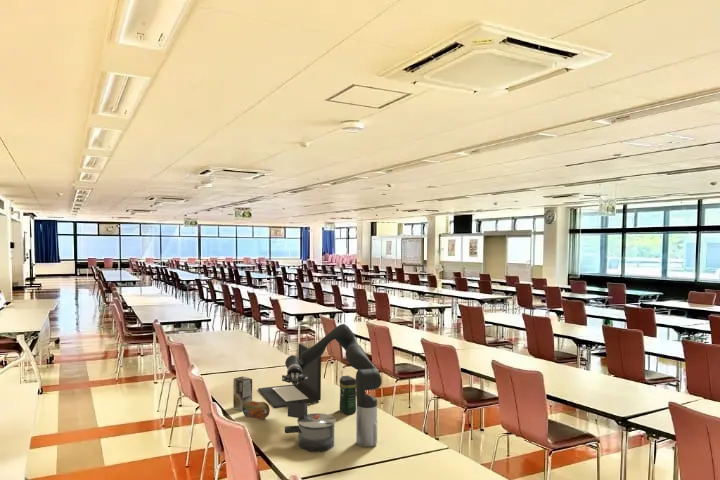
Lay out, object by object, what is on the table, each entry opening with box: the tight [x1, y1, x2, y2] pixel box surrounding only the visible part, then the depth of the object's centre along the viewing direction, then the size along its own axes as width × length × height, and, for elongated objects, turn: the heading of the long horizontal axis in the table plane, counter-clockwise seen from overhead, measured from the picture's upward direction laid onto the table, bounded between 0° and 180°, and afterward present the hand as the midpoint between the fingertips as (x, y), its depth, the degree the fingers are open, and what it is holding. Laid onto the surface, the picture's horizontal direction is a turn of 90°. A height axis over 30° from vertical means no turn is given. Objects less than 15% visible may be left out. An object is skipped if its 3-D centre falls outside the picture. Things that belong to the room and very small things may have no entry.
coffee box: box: [232, 375, 253, 412], centre depth 281 cm, size 9×6×16 cm
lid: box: [287, 401, 337, 428], centre depth 233 cm, size 22×17×7 cm
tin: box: [242, 400, 271, 420], centre depth 267 cm, size 15×3×8 cm, turn 69°
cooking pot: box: [284, 424, 335, 453], centre depth 232 cm, size 22×16×10 cm
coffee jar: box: [339, 375, 357, 415], centre depth 278 cm, size 10×8×19 cm
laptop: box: [257, 343, 322, 409], centre depth 305 cm, size 37×27×27 cm
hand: (294, 382), depth 243 cm, fingers closed
